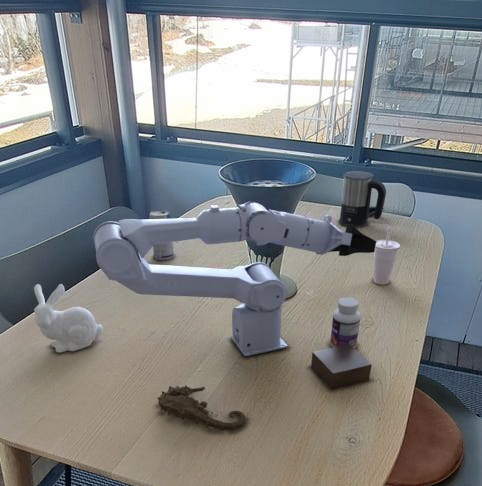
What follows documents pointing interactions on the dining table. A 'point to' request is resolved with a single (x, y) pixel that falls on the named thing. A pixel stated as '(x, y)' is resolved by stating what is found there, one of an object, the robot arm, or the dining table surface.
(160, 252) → the energy drink
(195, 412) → the seahorse
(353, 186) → the milk frother
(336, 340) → the pill bottle
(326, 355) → the walnut block
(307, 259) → the dining table surface
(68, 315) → the rabbit
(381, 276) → the smoothie
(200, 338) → the dining table surface
